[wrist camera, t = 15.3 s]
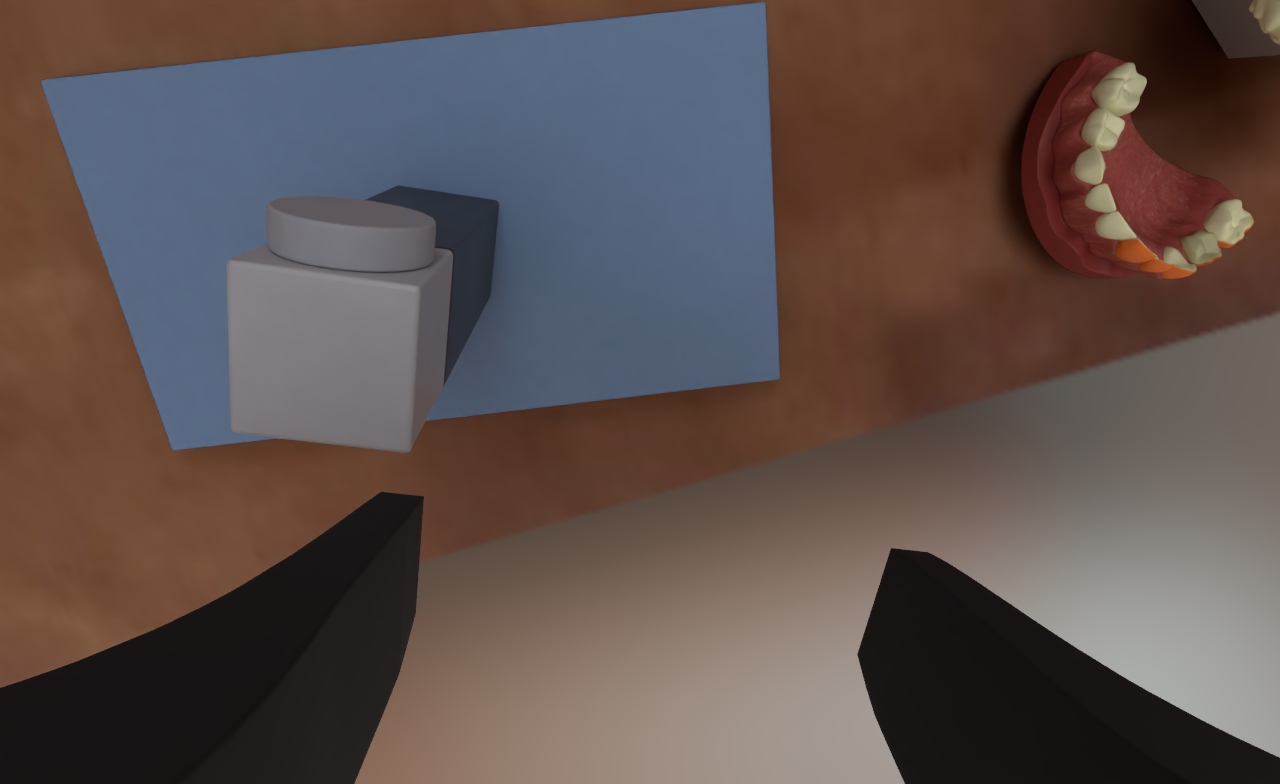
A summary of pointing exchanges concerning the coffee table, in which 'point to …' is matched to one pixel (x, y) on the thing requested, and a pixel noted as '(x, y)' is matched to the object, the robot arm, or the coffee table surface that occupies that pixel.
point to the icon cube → (1236, 28)
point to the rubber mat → (465, 165)
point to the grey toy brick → (355, 314)
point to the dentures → (1120, 178)
